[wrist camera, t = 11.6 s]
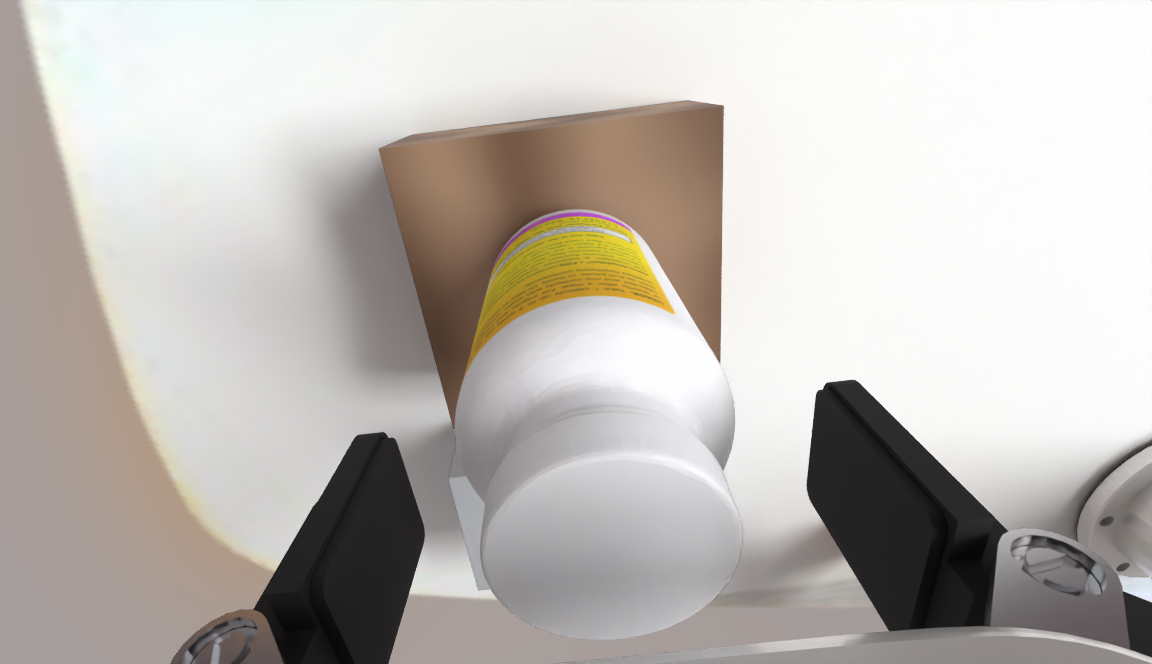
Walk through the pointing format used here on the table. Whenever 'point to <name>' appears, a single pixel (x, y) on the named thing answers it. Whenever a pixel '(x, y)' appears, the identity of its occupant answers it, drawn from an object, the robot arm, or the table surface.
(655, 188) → the walnut block
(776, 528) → the table surface
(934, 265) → the table surface
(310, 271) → the table surface
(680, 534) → the supplement bottle
